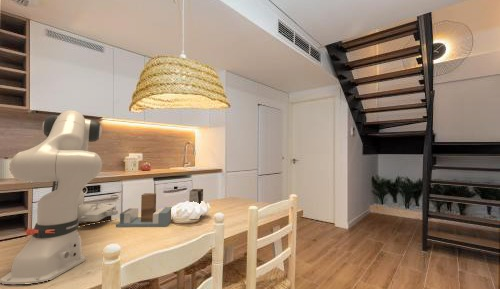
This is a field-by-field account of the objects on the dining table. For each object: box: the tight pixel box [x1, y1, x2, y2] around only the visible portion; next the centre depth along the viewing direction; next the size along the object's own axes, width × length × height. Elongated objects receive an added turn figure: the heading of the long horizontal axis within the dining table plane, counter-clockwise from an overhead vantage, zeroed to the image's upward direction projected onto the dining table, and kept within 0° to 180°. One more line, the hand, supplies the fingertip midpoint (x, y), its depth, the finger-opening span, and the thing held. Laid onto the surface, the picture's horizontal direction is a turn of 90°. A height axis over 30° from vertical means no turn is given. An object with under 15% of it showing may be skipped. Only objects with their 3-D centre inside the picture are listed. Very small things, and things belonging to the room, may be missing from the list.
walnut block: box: [140, 192, 157, 222], centre depth 133 cm, size 5×6×14 cm
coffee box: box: [188, 188, 204, 204], centre depth 145 cm, size 9×6×16 cm
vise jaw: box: [119, 207, 139, 223], centre depth 132 cm, size 11×5×5 cm, turn 4°
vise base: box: [115, 206, 173, 228], centre depth 132 cm, size 13×25×7 cm, turn 94°
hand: (116, 212), depth 131 cm, fingers closed
